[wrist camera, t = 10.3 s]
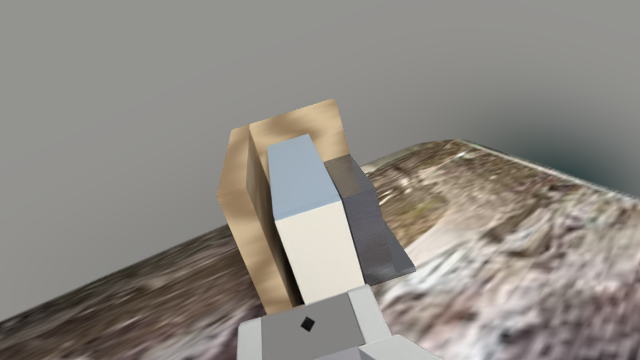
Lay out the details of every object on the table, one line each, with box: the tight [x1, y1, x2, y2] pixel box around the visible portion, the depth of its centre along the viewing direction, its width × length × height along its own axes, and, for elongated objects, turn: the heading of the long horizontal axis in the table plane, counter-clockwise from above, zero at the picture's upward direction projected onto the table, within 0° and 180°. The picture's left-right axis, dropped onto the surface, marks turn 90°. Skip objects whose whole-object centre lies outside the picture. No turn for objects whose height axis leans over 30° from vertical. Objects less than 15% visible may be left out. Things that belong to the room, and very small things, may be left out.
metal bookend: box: [324, 154, 416, 286], centre depth 40 cm, size 5×10×10 cm, turn 9°
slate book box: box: [267, 134, 365, 304], centre depth 35 cm, size 5×16×14 cm, turn 9°
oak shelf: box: [216, 99, 349, 315], centre depth 37 cm, size 12×18×16 cm, turn 9°
